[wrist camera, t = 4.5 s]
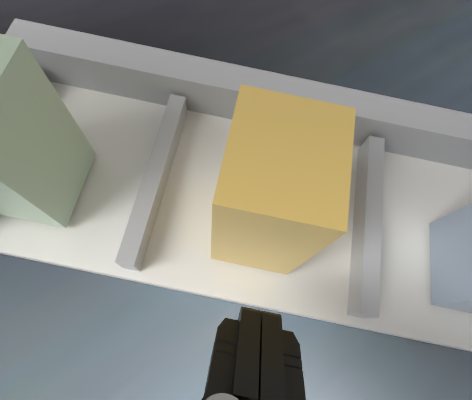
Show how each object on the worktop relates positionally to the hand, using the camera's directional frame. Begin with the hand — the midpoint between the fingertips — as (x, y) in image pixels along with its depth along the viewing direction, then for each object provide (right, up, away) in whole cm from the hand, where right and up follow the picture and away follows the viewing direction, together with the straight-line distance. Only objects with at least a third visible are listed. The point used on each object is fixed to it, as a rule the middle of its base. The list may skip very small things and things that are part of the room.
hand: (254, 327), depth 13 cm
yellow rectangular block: (+1, +3, +8) cm, 8 cm away
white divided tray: (+1, +5, +10) cm, 11 cm away
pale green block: (-12, +6, +8) cm, 16 cm away
